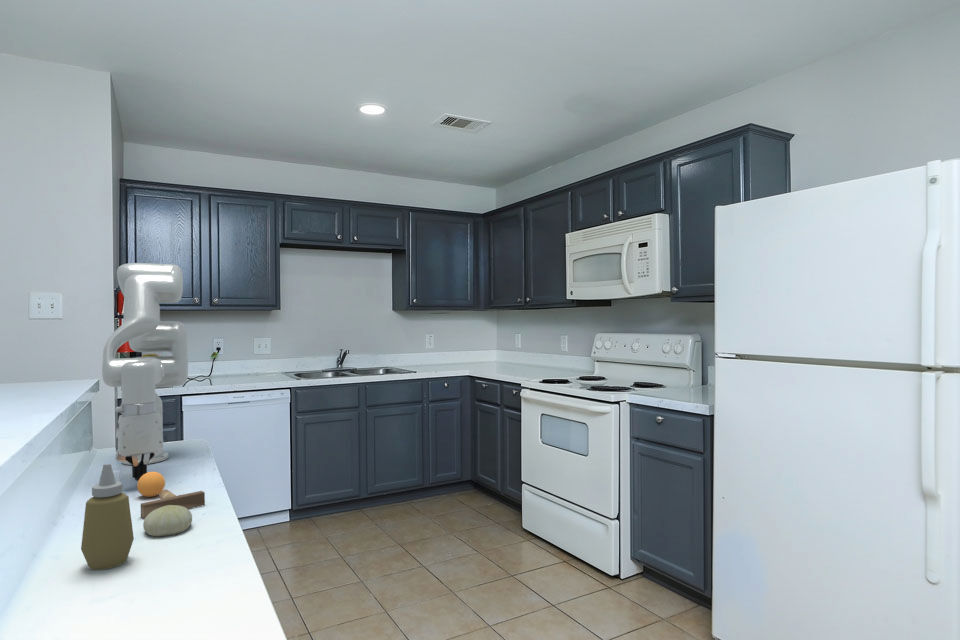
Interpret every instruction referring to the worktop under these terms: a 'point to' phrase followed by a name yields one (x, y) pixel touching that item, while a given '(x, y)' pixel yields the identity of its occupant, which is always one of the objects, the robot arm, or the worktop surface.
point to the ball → (151, 484)
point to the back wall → (174, 502)
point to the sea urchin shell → (167, 520)
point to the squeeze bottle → (107, 524)
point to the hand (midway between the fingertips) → (139, 479)
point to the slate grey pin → (117, 475)
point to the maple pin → (166, 494)
